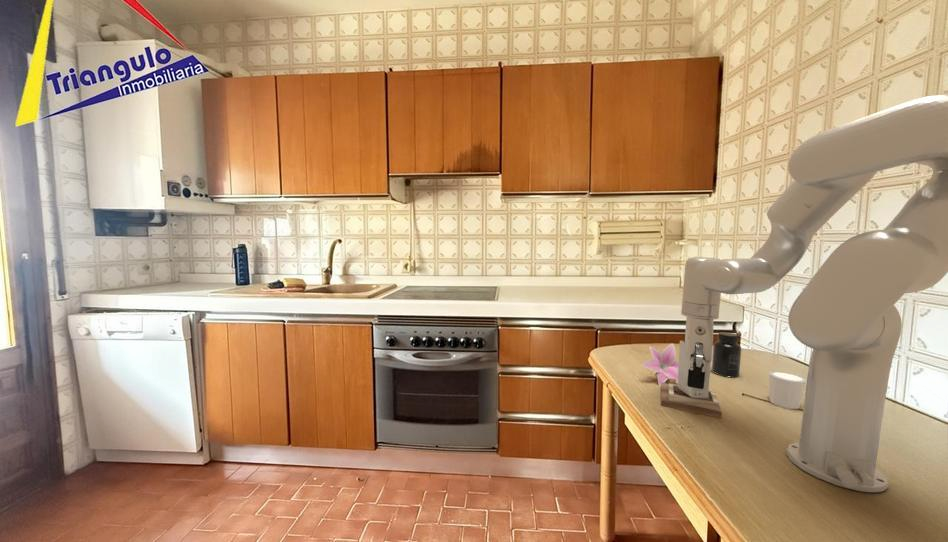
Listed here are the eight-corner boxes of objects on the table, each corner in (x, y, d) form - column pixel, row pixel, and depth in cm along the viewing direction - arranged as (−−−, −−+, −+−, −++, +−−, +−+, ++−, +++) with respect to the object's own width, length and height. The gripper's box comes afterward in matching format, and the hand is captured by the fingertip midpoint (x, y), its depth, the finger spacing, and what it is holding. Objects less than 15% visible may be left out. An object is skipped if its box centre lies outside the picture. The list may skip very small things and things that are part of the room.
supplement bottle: (738, 372, 111) (742, 333, 110) (739, 379, 105) (744, 338, 104) (711, 367, 115) (714, 329, 113) (711, 374, 109) (715, 334, 108)
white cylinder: (810, 411, 86) (813, 383, 86) (776, 408, 88) (780, 380, 87) (791, 399, 93) (794, 372, 92) (760, 396, 94) (763, 369, 94)
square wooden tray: (721, 418, 82) (722, 404, 82) (661, 405, 87) (662, 392, 87) (714, 396, 93) (715, 384, 93) (661, 386, 98) (662, 375, 98)
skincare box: (709, 398, 85) (714, 347, 84) (690, 398, 85) (695, 347, 84) (692, 387, 92) (697, 340, 90) (675, 387, 91) (679, 339, 90)
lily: (632, 383, 103) (646, 360, 97) (637, 357, 112) (650, 334, 106) (677, 404, 99) (694, 381, 94) (679, 374, 108) (694, 352, 103)
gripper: (724, 318, 77) (717, 397, 79) (714, 305, 92) (707, 371, 94) (683, 314, 80) (677, 390, 82) (679, 302, 96) (674, 366, 97)
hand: (693, 380), depth 88 cm, fingers open, 9 cm apart
